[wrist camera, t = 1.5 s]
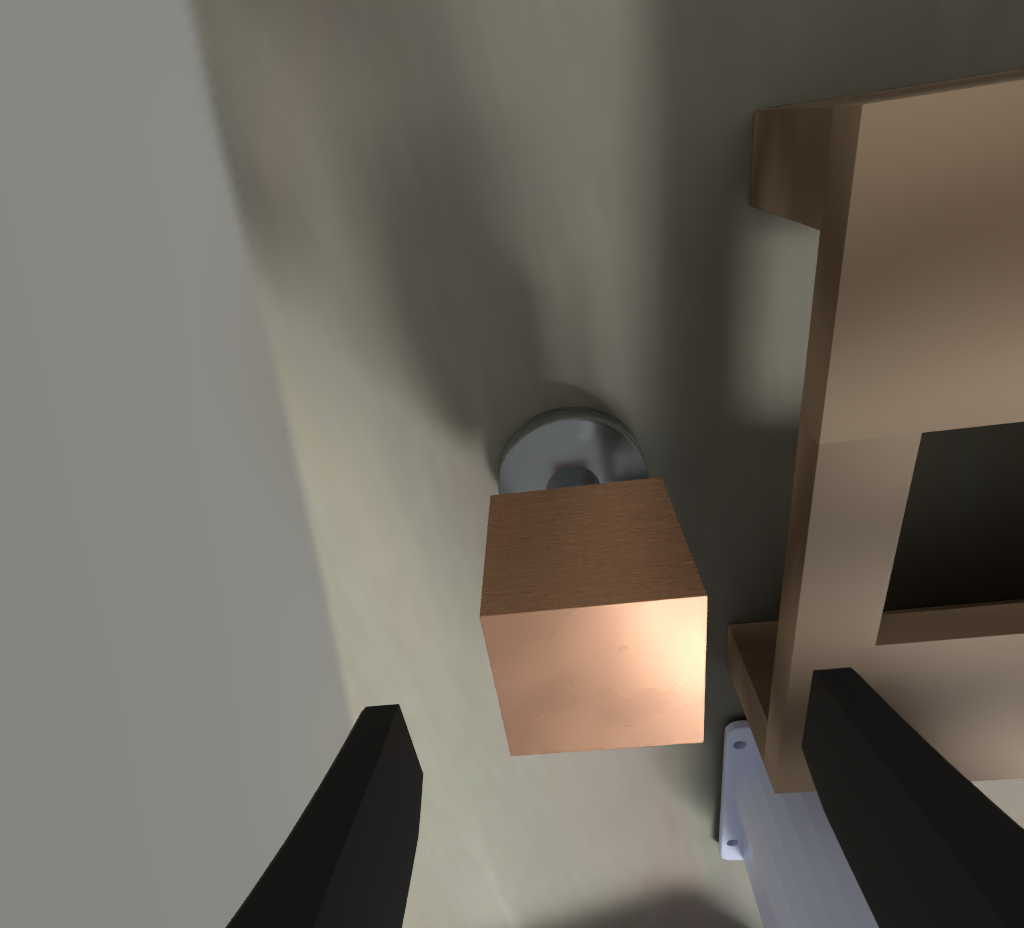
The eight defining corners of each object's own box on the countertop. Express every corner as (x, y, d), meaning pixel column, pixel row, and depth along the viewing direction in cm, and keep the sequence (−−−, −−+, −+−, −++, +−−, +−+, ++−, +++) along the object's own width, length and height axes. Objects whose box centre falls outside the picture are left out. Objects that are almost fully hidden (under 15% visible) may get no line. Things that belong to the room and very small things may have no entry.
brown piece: (645, 523, 19) (712, 747, 12) (510, 537, 20) (503, 762, 13) (640, 398, 17) (719, 586, 10) (489, 416, 18) (466, 609, 11)
